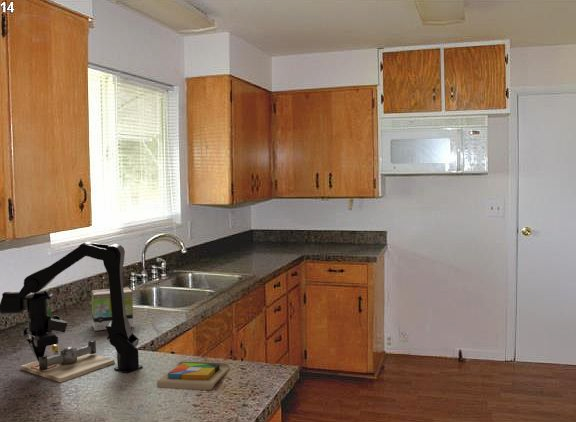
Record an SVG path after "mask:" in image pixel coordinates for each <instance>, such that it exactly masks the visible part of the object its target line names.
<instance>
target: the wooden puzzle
mask: <svg viewBox="0 0 576 422" xmlns="http://www.w3.org/2000/svg"><path fill="white" fill-rule="evenodd" d="M229 370H230V364H229V363H228V362H221V361H220V362H218V361H217V362H215V361H189V360H188V361H186V360H185V361H184V360H181V361H179V362H178V363H177V364H176V365H175V367H174V368H172V369H171V370H169V371H168V372H167V373H165V374H164V375H162V376H161V377H160V378H159V379H157V381H156V386H157V388H165V389H183V390H202V391H204V390H205V391H206V390H207V391H211V390H213V388H215V387H214V386H215V385H216V384H217V383H218V382H219V381H220V380H221V379H222V378H223V377H224V376H225V375H226V374H227V373H228V372H229Z"/></svg>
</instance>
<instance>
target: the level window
mask: <svg viewBox="0 0 576 422" xmlns="http://www.w3.org/2000/svg"><path fill="white" fill-rule="evenodd" d="M38 366H39V364H38V365H35V366H31V368H33V369H36V370H39V368H37V367H38ZM55 366H57V365H56V364H55V365H52V366H49V367H48V369H49V368H52V367H55ZM39 371H43V370H39Z"/></svg>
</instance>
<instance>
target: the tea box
mask: <svg viewBox="0 0 576 422" xmlns="http://www.w3.org/2000/svg"><path fill="white" fill-rule="evenodd" d="M123 289H124V300H125V312H126V317H127V319H128V321H129V324H130V327H131V328H133V327H134V311H133V310H134V307H133V305H134V304H133V303H134V302H133V300H134V299H133V291H132V290H131V289H130V287H123ZM91 316H92V317H91V322H92V323H91V325H92V327H93V330H94V332H96V331H102V330H103V331H105V330H107V328H106V327H107V325H108V324H109V323H110V322H112V310H111V299H110V288H105V289H92V290H91Z"/></svg>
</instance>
